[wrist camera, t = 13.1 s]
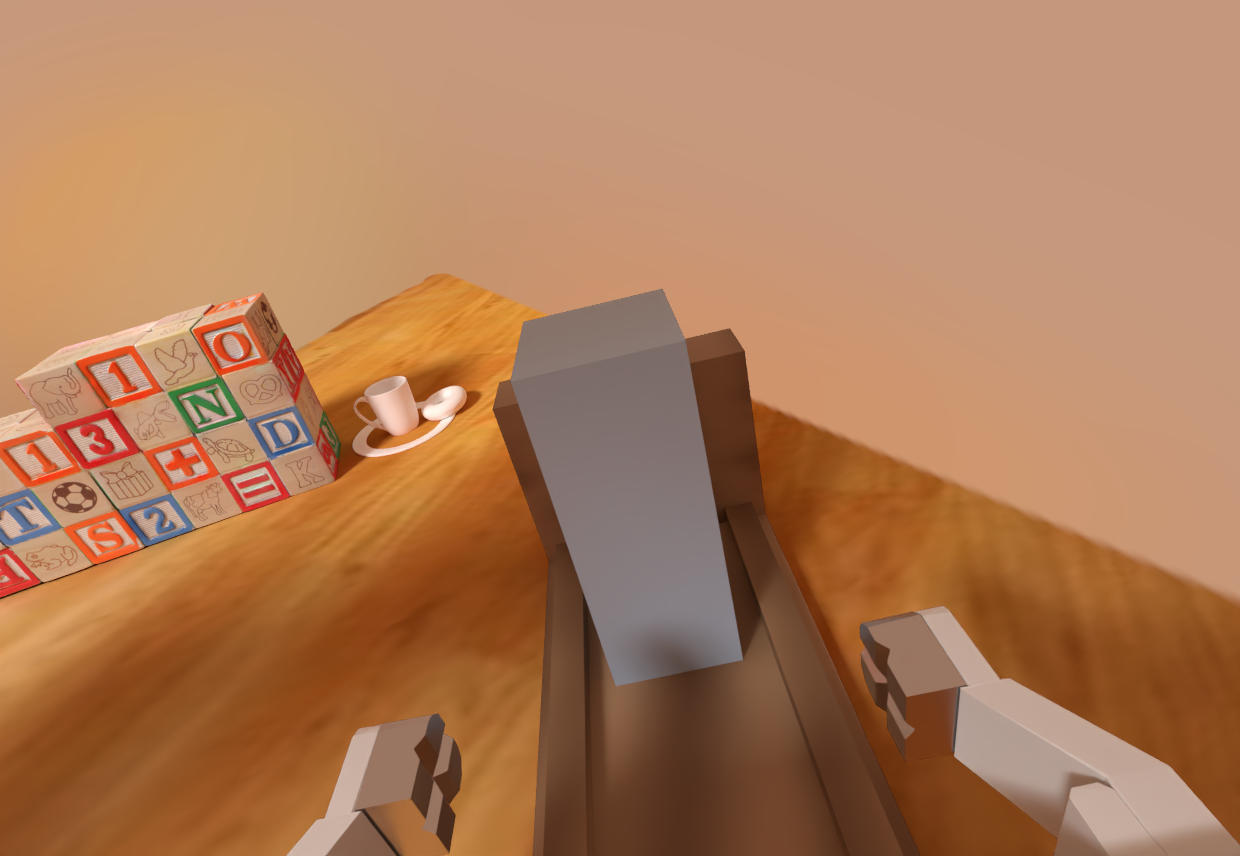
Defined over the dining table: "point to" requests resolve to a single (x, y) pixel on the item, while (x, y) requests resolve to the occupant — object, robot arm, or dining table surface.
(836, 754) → the holder
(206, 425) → the stack of blocks
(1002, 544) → the dining table surface
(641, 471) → the block
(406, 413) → the teacup and saucer
